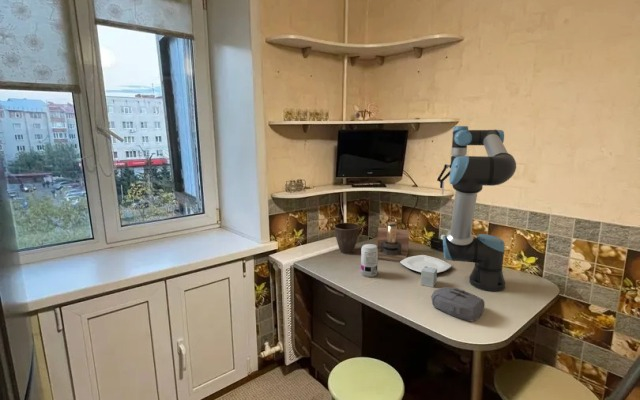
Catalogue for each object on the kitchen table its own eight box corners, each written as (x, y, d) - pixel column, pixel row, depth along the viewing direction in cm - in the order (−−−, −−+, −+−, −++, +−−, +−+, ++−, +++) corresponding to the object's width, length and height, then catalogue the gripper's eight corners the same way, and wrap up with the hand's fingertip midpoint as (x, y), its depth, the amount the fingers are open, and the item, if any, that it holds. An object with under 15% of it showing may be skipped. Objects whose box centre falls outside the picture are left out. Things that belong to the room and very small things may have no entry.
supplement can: (357, 274, 174) (358, 246, 171) (367, 269, 180) (367, 242, 177) (370, 279, 168) (371, 250, 165) (380, 273, 174) (381, 245, 171)
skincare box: (433, 287, 159) (434, 272, 157) (420, 284, 162) (421, 270, 161) (436, 282, 164) (437, 268, 162) (423, 280, 167) (424, 265, 166)
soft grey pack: (487, 312, 138) (441, 295, 152) (489, 293, 136) (442, 277, 150) (471, 327, 128) (423, 307, 142) (473, 306, 126) (424, 288, 140)
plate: (457, 269, 179) (457, 266, 178) (427, 280, 167) (427, 276, 166) (423, 256, 198) (423, 252, 198) (393, 264, 186) (393, 261, 185)
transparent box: (405, 262, 188) (406, 239, 186) (372, 258, 194) (373, 236, 191) (408, 251, 205) (409, 230, 202) (378, 248, 211) (378, 227, 208)
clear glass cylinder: (395, 254, 196) (396, 224, 192) (385, 253, 198) (386, 223, 194) (396, 251, 201) (397, 222, 197) (387, 250, 203) (388, 221, 199)
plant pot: (345, 245, 216) (345, 221, 213) (364, 251, 206) (364, 225, 203) (329, 251, 206) (329, 226, 203) (348, 258, 196) (348, 231, 193)
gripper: (483, 155, 182) (480, 194, 186) (434, 154, 190) (431, 192, 195) (485, 156, 175) (481, 197, 180) (433, 155, 183) (431, 194, 188)
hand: (455, 194), depth 187 cm, fingers open, 13 cm apart
